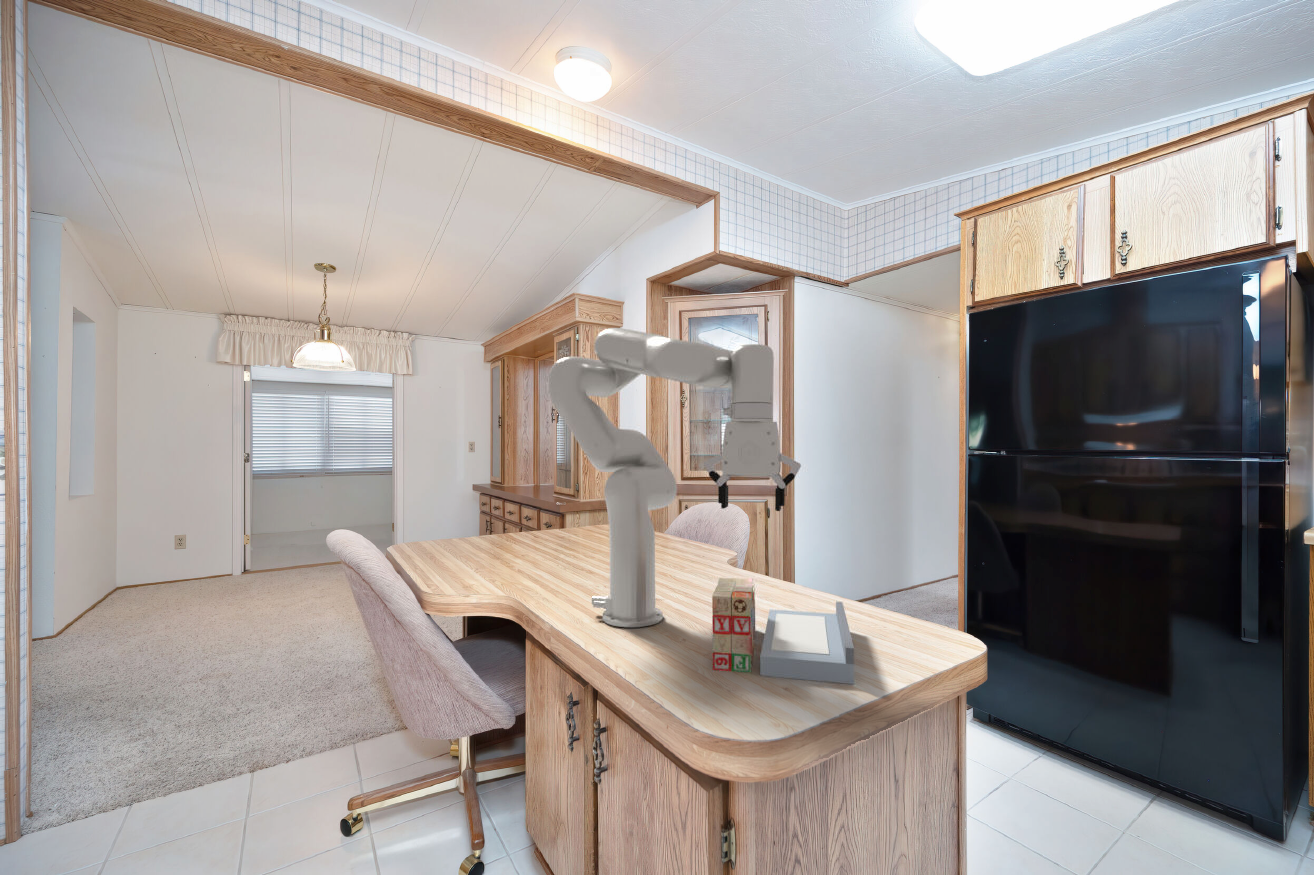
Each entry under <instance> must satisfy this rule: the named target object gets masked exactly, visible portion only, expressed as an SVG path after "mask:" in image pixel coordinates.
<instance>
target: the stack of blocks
mask: <svg viewBox="0 0 1314 875" xmlns="http://www.w3.org/2000/svg"><path fill="white" fill-rule="evenodd" d="M718 578H719V579H718V581H717V585H716V586H715V590H714V591H713V593H712V596H711V598H712V599H711V600H712V601H711V603H712V620H711V622H712V623H711V625H712V671H724V672H725V671H726V672H739V673H751V672H752V666H753V659H754V650H755V649H754V645H755V642H754V641H755V639H756V599H755V598H756V596H755V593H756V592H755V590H756V588H755V583H754V581H753V580H754V579H753V578H734V577H733V578H731V577H730V578H729V577H718Z"/></svg>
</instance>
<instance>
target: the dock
mask: <svg viewBox="0 0 1314 875" xmlns="http://www.w3.org/2000/svg"><path fill="white" fill-rule="evenodd" d="M845 611H846V610H845V607H844V603H843V601H835V613H829V612H814V611H813V612H812V611H801V610H799V611H798V610H785V609H769V611H768V616H767V622H766V625H765V626H766V627H765V632H764V636H763V640H762V646H761V652H760V656H759V657H760V660H759V661H760V665H759V666H760V667H759V668H760V676H765V677H773V678H786V679H795V680H804V681H805V680H806V681H818V682H825V683H826V682H828V683H837V684H848V685H855V647H854V643H853V639H852V634H851V631H850V627H849V624H848V623H849V622H848V618H847V615H846V612H845Z"/></svg>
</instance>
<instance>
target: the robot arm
mask: <svg viewBox="0 0 1314 875" xmlns="http://www.w3.org/2000/svg"><path fill="white" fill-rule="evenodd" d="M593 348H594V353H595V355H596V357H597V359H595V358H589V357H581V356H567V357H563V358H560V359H558V360H556V362H555V363H553V365H552V367H551V369H550V372H549V374H548V382H547V385H548V393H549V394H548V395H549V399H550V401H551V404H552V405H553V407H554V409H555V411H556V412H557V414H558V415H559V416H560V418H561V419H562V420H563V422H564V423H565V425H567V427H568V429H569V430H570V432H571V433H572V434H573V436H574V438H575V440H576V442H577V444H578V445H579V447H580V448H581V450H582V452H584V455H585V456H586V458H587V459H588V461H589V462H590V464H591V465H592V467H594V469H596V470H597V471H599V472H603V473H611V474H610V475H609V476H608V477H607V479H606V481H605V485H604V488H603V489H604V501H605V506H606V510H607V511H606V512H607V516H608V529H609V530H608V531H609V532H608V535H609V536H608V538H609V540H608V541H609V543H608V544H609V595H606V596H602V595H600V596H599V595H593V596H592V598H591V605H592V607H593V608H599V609H600V608H602V609H604V611H603V612H602V621H603V622H604V623H606V624H608V625H610V626H614V627H621V628H641V627H648V626H652V625H655V624H658V623H660V622H661V621H662V620H663V618H664V616H663V615H664V614H663V611H662V610H661V609H659V608H658V607H656V538H655V537H656V536H655V529H654V524H653V521H652V518H651V516H650V513H649V511H653V510H659V509H663V508H666V507H668V506H670V505H671V504H672V503H673V502H674V501H675V499H676V496H677V493H678V484H677V481H676V478H675V476H674V473H673V472H672V470H671V469H670V467H669V465H668V464H667V463H666V461H665V460H664V459H663V457H662V456H661V454H660V452H659V451H658V450H657V448H656V447H655V445H654V444H653V443H652V441H651V440H650V438H648V437H647V436H646V435H645V434H644V433H642V432H640V431H638V430H634V429H628V428H627V429H625V428H624V429H623V428H619V427H616V426H615V425H614V424H613V423H612V421H611V420H610V419H609V418H608V416H607V414H606V413H605V411H604V410H603V409H602V407H601V406H600V405H598V404H597V403H596V402H595V401H594V400H592V398H590V397H597V398H598V397H599V398H606V397H607V398H608V397H612V396H614V395H615V394H617V393H618V392H620V391H621V390H622V389H625V387H627V386H628V384H630V383H632V382H633V381H634V380H636V378H638V377H639V376H641V375H645V376H649V377H652V378H661V379H662V378H663V379H666V380H671V381H675V382H680V383H682V384H683V383H684V384H688V385H692V386H697V387H705V388H711V389H717V390H728V389H730V405H729V406H727V407H723V409H722V415H723V416H728V418H730V421H726V423H725V428H724V434H723V441H722V442H723V443H722V453H719V454H717V455H715V456H713V457H711V458H709V459H707V460H705V461H703V466H704V468H705V469H706V471H707V473H708V476H709V477H710V479H712V481H713V482H714V483H715V484H716V486H717V487H718V489H717V490H718V493H717V495H718V498H717V500H718V504H720V508H721V509H723V510H725V509H726V508H728V507H729V485H727V484H728V483H727V482H728V481H729V480H730V479H731V478H734V477H735V478H767V479H769V478H771V479H772V480H773V482H774V483H775V485H776V488H775V495H774V498H775V499H774V501H775V502H774V504H775V506H774V508H775V511H776V512H780V511H781V510H782V507H785V504H786V503H785V499H786V498H785V495H786V487H787V486H788V485H789V484H790V483H791V482H792V481H793V480H794V479H795V478H796V476H797V474H798V473H799V471H800V470H801V468H802V465H801V463H800V462H798V461H797V460H794V459H793V458H791V457H789V456H787V455H785V454H783V453H781V446H780V445H781V443H780V433H779V429H778V428H779V426H778V423H777V421H774V366H775V364H774V360H775V359H774V357H775V356H774V355H775V354H774V351H773V349H772V348H771V347H770V346H769V345H766V344H758V343H757V344H751V343H749V344H741V345H738V346H736V347H735V348H733V350H730V349H729V350H728V349H723V348H721V347H715V346H713V345H708V344H705V343H704V344H703V343H698V342H693V341H687V340H681V339H677V338H670V337H666V336H664V335H661V334H656V333H648V332H643V331H639V330H638V331H637V330H633V329H626V328H621V327H610V328H607V329H604V330H602V331H601V332H600V333H599V334H598V335H597V336H596V338H595V340H594V344H593ZM720 462H721V473H722V474H721V475H720V474H719V473H718V472H717V471H716V468H715V465H716V464H718V463H720ZM782 463H783V464H784V465H787V466H789V467H790V471H789V473H788V474H787V475H786V476H785V477H783V476H782V475H781V473H780V472H781V464H782Z"/></svg>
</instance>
